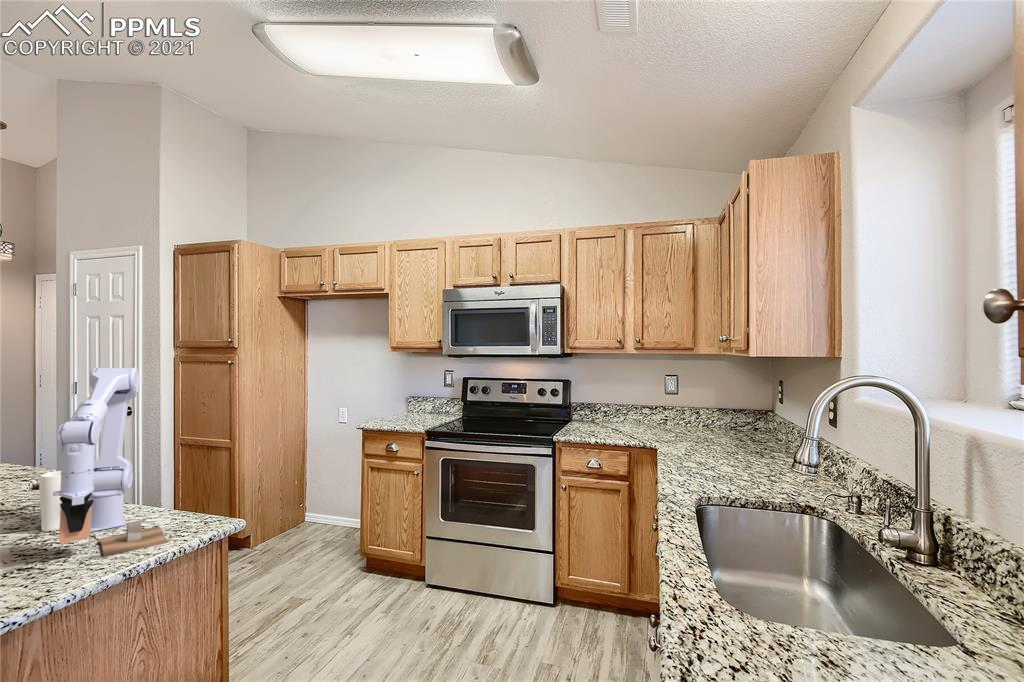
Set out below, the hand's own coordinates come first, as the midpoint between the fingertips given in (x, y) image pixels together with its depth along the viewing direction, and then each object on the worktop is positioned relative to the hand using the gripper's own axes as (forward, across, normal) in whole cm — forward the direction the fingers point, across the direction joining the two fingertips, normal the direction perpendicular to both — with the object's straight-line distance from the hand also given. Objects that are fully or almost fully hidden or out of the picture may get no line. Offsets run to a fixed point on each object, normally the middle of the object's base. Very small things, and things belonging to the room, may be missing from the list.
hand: (75, 528), depth 108 cm
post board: (+6, 0, +11) cm, 13 cm away
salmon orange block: (+2, 0, 0) cm, 2 cm away
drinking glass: (+7, -25, -3) cm, 26 cm away
